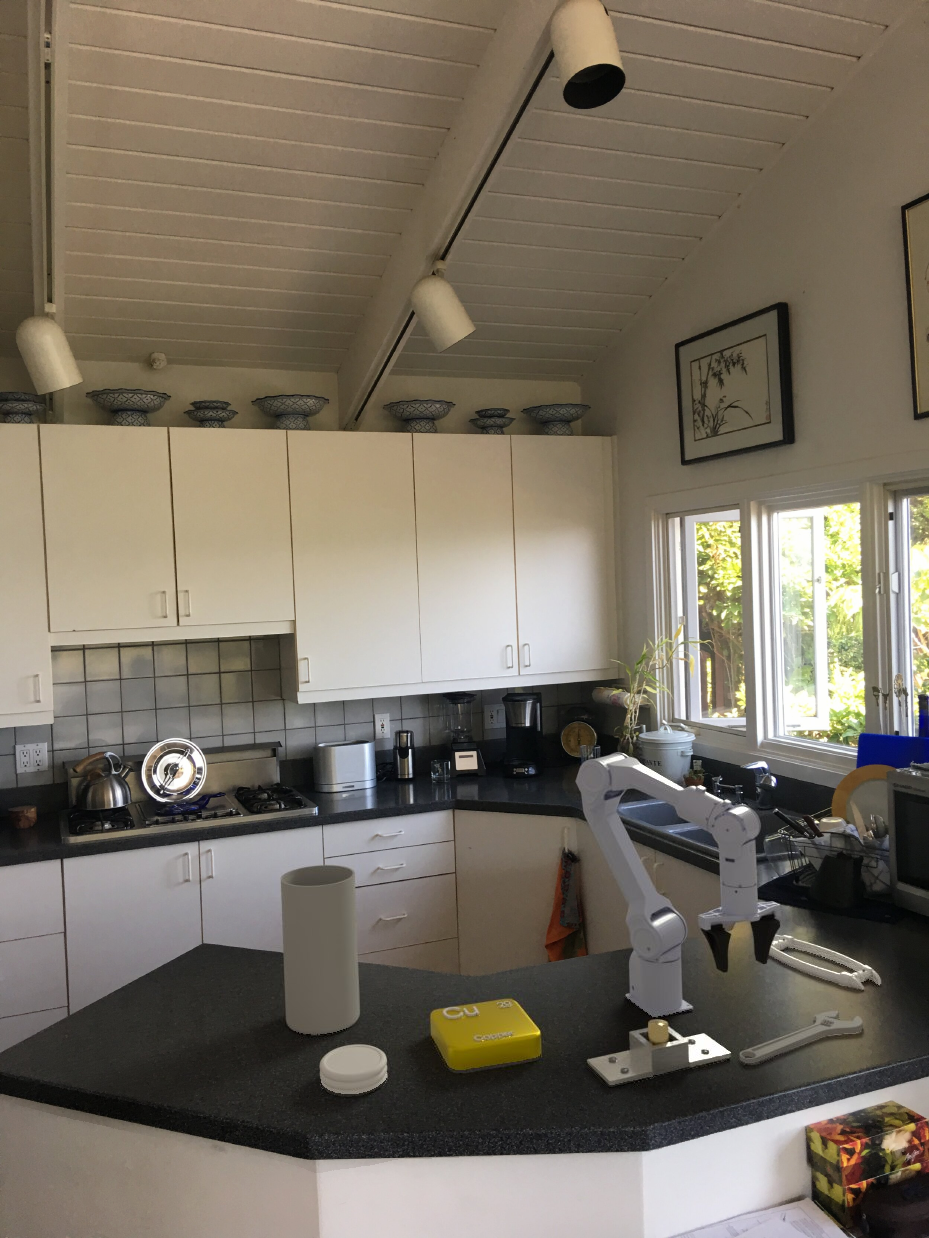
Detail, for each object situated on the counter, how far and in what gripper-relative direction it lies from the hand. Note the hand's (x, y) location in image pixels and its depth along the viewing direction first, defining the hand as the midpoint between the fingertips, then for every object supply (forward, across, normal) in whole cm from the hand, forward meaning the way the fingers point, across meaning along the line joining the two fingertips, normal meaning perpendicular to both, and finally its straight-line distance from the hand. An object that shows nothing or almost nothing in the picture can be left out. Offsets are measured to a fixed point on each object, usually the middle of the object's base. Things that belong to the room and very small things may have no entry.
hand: (741, 966), depth 153 cm
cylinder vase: (+10, -62, +32) cm, 71 cm away
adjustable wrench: (+11, +6, -6) cm, 14 cm away
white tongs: (+11, +29, +17) cm, 35 cm away
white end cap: (+10, -62, +10) cm, 64 cm away
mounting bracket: (+10, -18, -4) cm, 21 cm away
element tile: (+11, -40, +12) cm, 44 cm away
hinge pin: (+10, -18, -4) cm, 21 cm away
